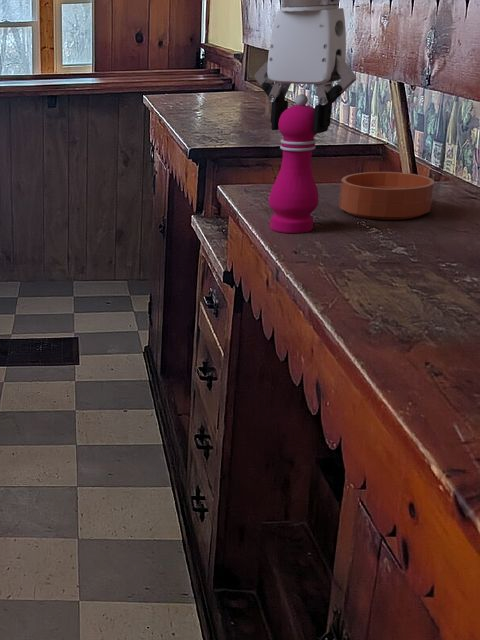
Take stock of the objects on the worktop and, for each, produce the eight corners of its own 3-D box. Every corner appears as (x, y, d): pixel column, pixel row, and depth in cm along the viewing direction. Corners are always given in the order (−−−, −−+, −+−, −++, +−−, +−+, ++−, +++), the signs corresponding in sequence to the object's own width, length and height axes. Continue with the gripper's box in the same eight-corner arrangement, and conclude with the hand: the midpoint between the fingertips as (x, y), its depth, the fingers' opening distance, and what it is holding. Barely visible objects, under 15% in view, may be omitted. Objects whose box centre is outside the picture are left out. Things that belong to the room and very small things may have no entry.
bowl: (444, 208, 140) (449, 177, 138) (406, 225, 131) (410, 193, 129) (363, 197, 149) (366, 168, 147) (323, 213, 141) (326, 182, 139)
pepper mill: (296, 220, 138) (307, 90, 130) (326, 230, 131) (339, 94, 123) (257, 226, 136) (266, 94, 128) (285, 236, 129) (296, 98, 121)
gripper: (382, -5, 117) (367, 131, 124) (269, -1, 129) (261, 123, 136) (355, -2, 112) (341, 138, 119) (241, 2, 124) (234, 130, 131)
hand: (299, 129), depth 128 cm, fingers closed on pepper mill, 6 cm apart
